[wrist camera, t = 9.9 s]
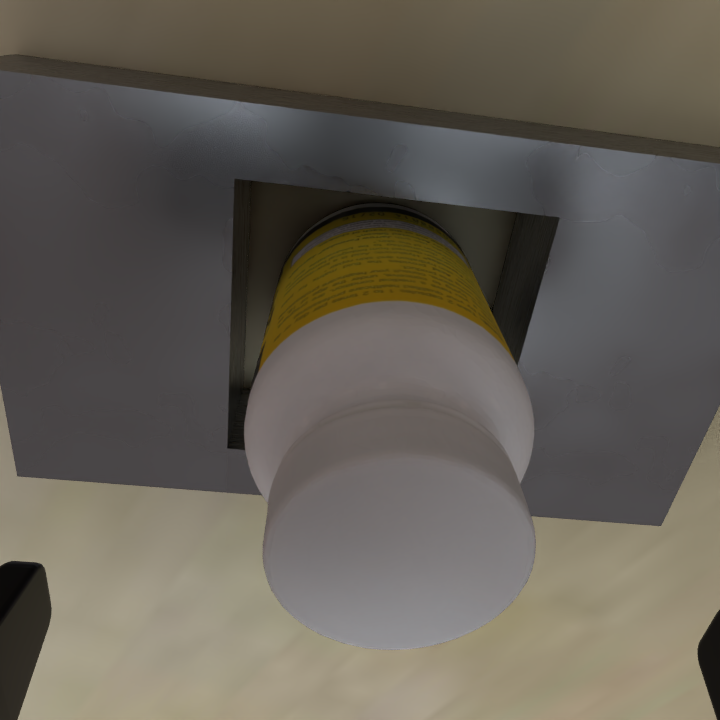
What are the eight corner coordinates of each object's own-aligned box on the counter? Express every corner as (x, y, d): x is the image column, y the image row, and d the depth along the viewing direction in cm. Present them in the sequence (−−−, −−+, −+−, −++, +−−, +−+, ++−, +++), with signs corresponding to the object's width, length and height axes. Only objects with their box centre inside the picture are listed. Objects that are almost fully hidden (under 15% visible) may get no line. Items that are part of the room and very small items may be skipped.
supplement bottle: (246, 236, 16) (141, 472, 8) (442, 170, 16) (560, 351, 7) (316, 397, 19) (295, 708, 10) (488, 346, 18) (615, 636, 10)
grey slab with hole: (748, 151, 16) (830, 177, 13) (620, 461, 20) (661, 526, 18) (14, 54, 14) (-59, 62, 12) (62, 413, 19) (17, 476, 16)
